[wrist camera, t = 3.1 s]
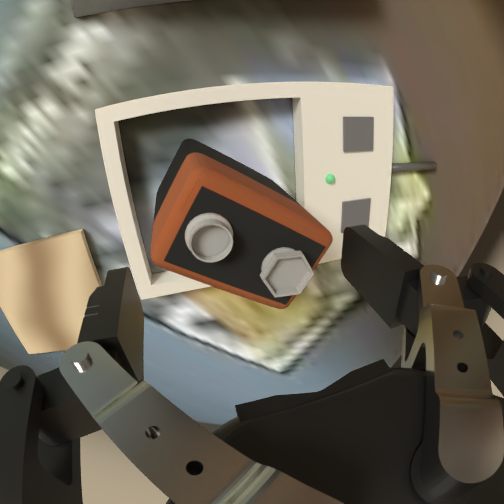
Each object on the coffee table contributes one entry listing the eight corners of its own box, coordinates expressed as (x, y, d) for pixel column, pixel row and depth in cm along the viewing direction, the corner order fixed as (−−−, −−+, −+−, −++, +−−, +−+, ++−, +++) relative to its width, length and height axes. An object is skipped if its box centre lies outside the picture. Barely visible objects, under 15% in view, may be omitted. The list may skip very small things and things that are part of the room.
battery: (243, 234, 22) (293, 327, 14) (154, 195, 19) (145, 279, 11) (275, 181, 21) (351, 247, 12) (185, 134, 18) (198, 168, 9)
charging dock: (436, 93, 20) (452, 95, 19) (424, 230, 26) (437, 238, 25) (100, 108, 16) (93, 109, 14) (142, 287, 22) (141, 302, 20)
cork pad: (82, 228, 19) (80, 232, 18) (123, 337, 24) (123, 342, 23) (-19, 255, 17) (-23, 259, 16) (30, 349, 22) (28, 354, 21)
